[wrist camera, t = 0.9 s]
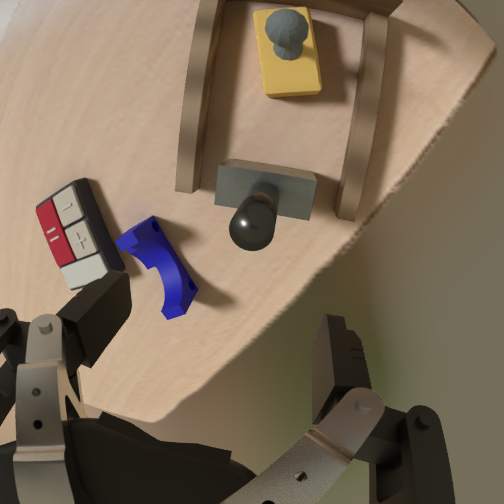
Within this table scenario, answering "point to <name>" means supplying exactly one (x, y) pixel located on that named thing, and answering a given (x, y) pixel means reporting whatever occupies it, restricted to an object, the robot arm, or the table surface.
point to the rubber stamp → (287, 52)
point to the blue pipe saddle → (161, 264)
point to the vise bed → (365, 105)
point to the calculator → (78, 235)
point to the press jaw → (262, 198)
